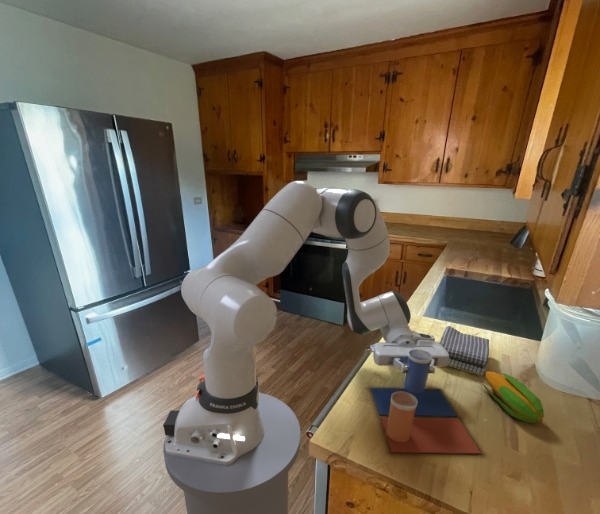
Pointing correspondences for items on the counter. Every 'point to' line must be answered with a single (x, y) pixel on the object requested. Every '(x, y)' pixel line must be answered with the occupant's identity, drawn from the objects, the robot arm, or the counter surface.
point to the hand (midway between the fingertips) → (418, 371)
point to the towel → (465, 351)
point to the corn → (515, 397)
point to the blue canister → (417, 371)
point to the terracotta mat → (434, 437)
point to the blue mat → (427, 405)
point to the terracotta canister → (401, 416)
